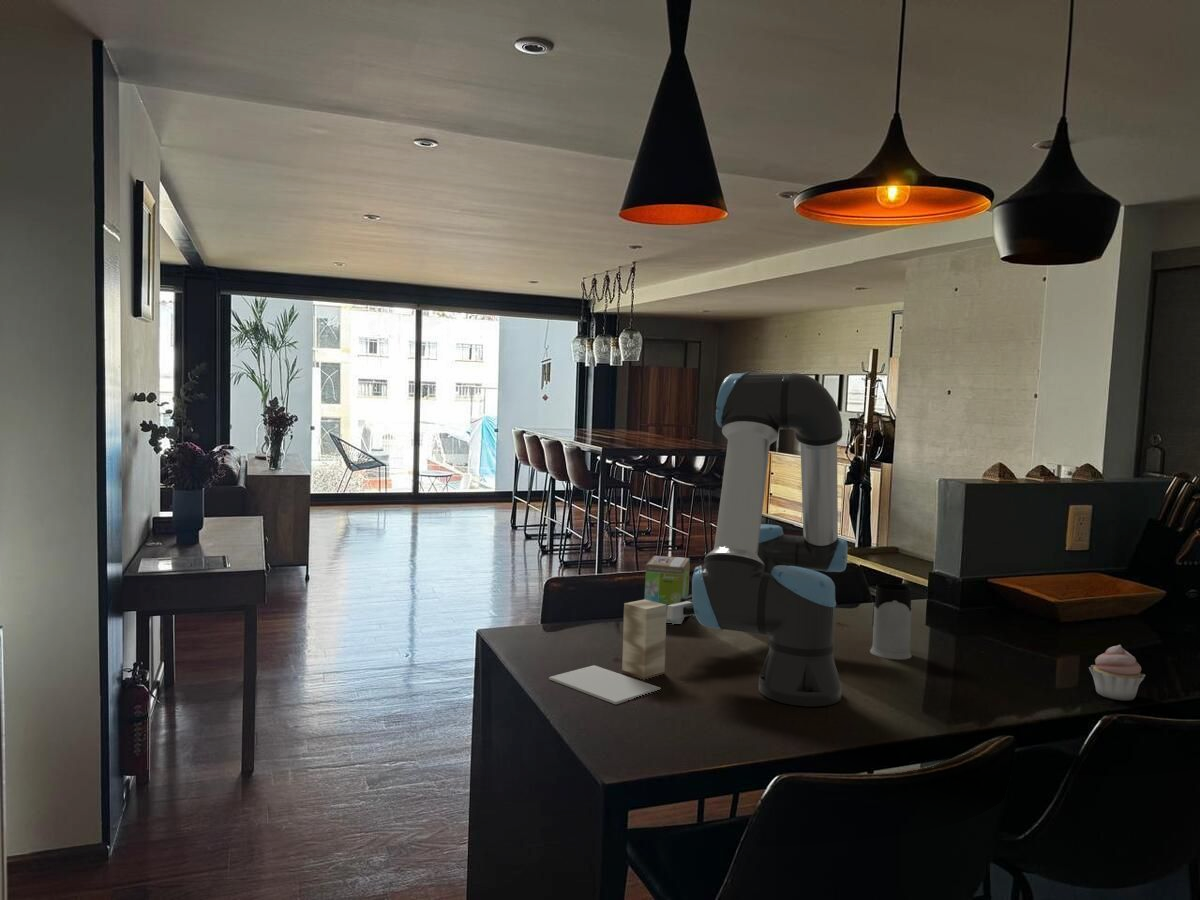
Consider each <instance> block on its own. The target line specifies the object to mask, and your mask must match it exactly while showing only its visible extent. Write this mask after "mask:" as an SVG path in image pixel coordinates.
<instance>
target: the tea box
mask: <svg viewBox="0 0 1200 900" xmlns="http://www.w3.org/2000/svg"><path fill="white" fill-rule="evenodd" d="M690 562H691V559H690V557H681V556H680V557H679V556H677V557H676V556H664V555H653V556H652V558H651V559H650V560H648V562H647V563H646V564H645V581H644V596H643V597H644V598H643V600H644V599H645V600H649V601H653V602H657V603H661V604H666V605H671V604H676V603H680V599H681V598H683V597H686V596H689V591H690V589H689V587H690V567H691V563H690ZM684 619H685V617H682V618H677V619H673V620H672V619H668V618H667V614H666V623H672V624H671V625H674V624H681V625H682V623H683V621H684Z"/></svg>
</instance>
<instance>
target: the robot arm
mask: <svg viewBox="0 0 1200 900" xmlns="http://www.w3.org/2000/svg"><path fill="white" fill-rule="evenodd" d="M715 406H716V410H715V421H716V424H717V427H719V428H721V433H722V435H723V436H724V437H725V438H726V440H727V446H726V453H725V455H726V456H725V462H724V468H723V469H724V470H723V477H722V486H721V493H720V498H719V499H720V501H719V507H718V508H719V509H718V514H717V515H718V516H717V523H716V530H715V531H716V532H715V539H714V547H713V549H712V550H711V551H710V552H708V553H707V554H706V555H705V557H704V562H703V565H698V566H695V568H694V569H693V574H692V579H691V594H688V596H686V597H683V598H681V599H680V603H676V604H671V605H667V618H668V619H672V620H673V619H677V618H682V617H684V618H685V617H690V616H693V615H694V616H695V617H696V620H697V621H698V623H699V624H700V625H702V626H703V627H705V628H711V629H717V630H720V631H723V630H726V631H736V632H742V633H752V634H759V635H767V636H769V647H768V649H769V650H768V653H767V655H766V659H765V660H764V663H763V666H762V669H761V671H760V674H759V676H758V677H759V678H758V691H759V693H760V694H761V695H762V696H763V697H766V698H767V699H769V700H772V701H775V702H778V703H781V704H786V705H790V706H798V707H810V708H811V707H813V708H815V707H825V706H826V707H827V706H831V705H834V704H836V703H838V702H840V700H841V699H842V684H841V681H840V677H839V673H838V670H837V667H836V663H835V659H834V641H835V639H834V637H835V636H834V634H835V632H834V631H835V630H834V629H835V609H836V606H837V601H836V585H835V582H834V581H833V580H832V578H831V577H829V576H828V575H826V574H824V573H823V572H825V573H827V572H828V573H834V572H835V573H842V572H844V571H846V568H847V563H848V553H849V552H848V551H849V549H848V548H849V547H848V542H847V540H846V539H843V538H839V536H838V535H839V533H838V532H839V529H838V527H839V526H838V524H839V523H838V522H839V521H838V519H839V518H838V517H839V515H838V514H839V513H838V511H839V510H838V509H839V508H838V505H839V504H838V492H839V491H838V443H839V442H840V441H841V440H842V438H843V422H842V417H841V416H842V415H841V413H840V410H839V407H838V406H837V403H836V401H835V399H834V398H833V396H832V394H830V392H829V391H828V390H827V388H826V387H825V386H824V385H822V384H821V383H820V382H819V381H818V380H816V379H815V378H813V377H811V376H809V375H807V374H803V373H797V372H795V373H794V372H792V373H776V372H775V373H774V372H773V373H771V372H770V373H768V372H766V373H763V372H760V373H758V372H756V373H755V372H751V371H750V372H749V371H747V372H743V373H742V372H741V373H731V374H729V375H727V376H726V377H725V378H724V379H723V381H722V383H721V384H720V387H719V391H718V393H717V398H716V405H715ZM780 430H789V431H791V430H794V437H795V440H796V442H797V443H799V445H800V448H799V449H800V475H801V499H802V500H801V503H802V504H801V505H802V527H803V528H802V530H803V531H802V533H803V534H802V535H794V534H793V535H791V534H784V530H783V527H782V526H780V525H778V524H768V523H762V516H763V510H764V509H763V508H764V500H765V491H766V490H765V489H766V484H767V483H766V481H767V475H768V473H767V472H768V465H769V464H768V463H769V457H770V446H771V444H773V443H775V442H776V441H777V440H778V439H779V432H780ZM820 571H822V572H820Z"/></svg>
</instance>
